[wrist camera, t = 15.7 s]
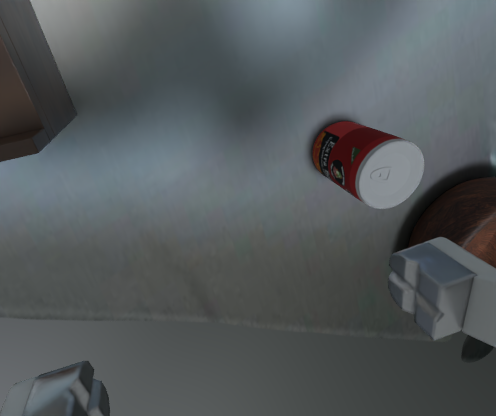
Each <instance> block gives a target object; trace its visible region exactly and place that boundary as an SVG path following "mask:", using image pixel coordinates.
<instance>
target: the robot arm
mask: <svg viewBox="0 0 496 416" xmlns="http://www.w3.org/2000/svg"><path fill="white" fill-rule="evenodd" d="M389 266H390V267H391V268H392V269H393V272H392V273H391V275H390V276H389V278H388V288H389V290H390V293H391V296H392V298H393V299H394V301H395V302H396V304H397V305H398V306H399V307H400V308H401V309H402V310H404V311H407V312H410V313H412V314H414V321H415V323H416V324H417V325H418V326H419V327H420V328H421V329H422V330H423V331H424V332H425V333H426V334H427V335H428V336H430V337H431V338H432V339H433V340H437V339H439V338H442V337H445V336H448V335H450V334H453V333H456V332H458V331H461V330H462V331H463V332H464V333H466V334H468V335H470V336H472V337H474V338H477V339H479V340H481V341H483V342H485V343H487V344H490V345H492V346H494V347H496V268H494V267H492V266H491V265H489V264H488V263H486V262H484V261H483V260H481V259H479V258H478V257H476V256H475V255H473V254H471V253H470V252H468V251H466V250H465V249H463V248H461V247H460V246H458V245H457V244H455V243H453V242H452V241H450V240H448V239H447V238H443V237H438V238H435V239H432V240H429V241H426V242H424V243H421V244H418V245H415V246H413V247H410V248H407V249H404V250H401V251H399V252H396V253H393V254H392V255H391V257H390V260H389ZM93 375H94V369H93V367H92V366H91V364H90V363H89V361H82V362H79V363H75V364H72V365H70V366H66V367H63V368H60V369H57V370H54V371H51V372H48V373H44V374H41V375H39V376H37V377H34V378H30V379H27V380H24V381H21V382H18V383H15V384H14V385H13V387H11V389H10V390H9V392H8V394H7V396H6V399H5V401H4V404H3V406H2V409H1V412H0V416H110V407H109V397H108V394H107V391H106V388H105V386H104V385H103V383H102V381H99V380H96V379H93Z"/></svg>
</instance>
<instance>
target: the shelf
mask: <svg viewBox="0 0 496 416" xmlns="http://www.w3.org/2000/svg"><path fill="white" fill-rule="evenodd" d="M76 116H77V114H76V111H75V109H74V106H73V104H72V102H71V99H70V97H69V94H68V92H67V89H66V87H65V85H64V82H63V80H62V77H61V75H60V73H59V70H58V68H57V65H56V63H55V61H54V58H53V56H52V53H51V51H50V49H49V46H48V44H47V41H46V39H45V36H44V34H43V32H42V29H41V27H40V24H39V22H38V20H37V17H36V15H35V12H34V10H33V8H32V5H31V3H30V0H0V162H2V161H6V160H10V159H15V158H19V157H23V156H28V155H32V154H36V153H39V152H40V151H41V150H42V149H43V148H44V147H45V146H46V145H47V144H48V143H49V142H50V141H51V140H52V139H53V138H55V136H56V135H57V134H58V133H59V132H60V131H61V130H62V129H64V128H65V127H66V126H67V125H68V124H69V123H70V122H71V121H72V120H73V119H74V118H75V117H76Z"/></svg>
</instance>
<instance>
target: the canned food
mask: <svg viewBox="0 0 496 416" xmlns="http://www.w3.org/2000/svg"><path fill="white" fill-rule="evenodd" d="M312 154H313V160H314V163H315V165H316V167H317V169H318V170H319V171H320V172H321V173H322V174H323V175H324V176H326V177H327V178H329V179H330V180H331V181H333V182H334V183H336V184H337V185H339V186H340V187H341V188H343V189H344V190H346V191H347V192H349V193H350V194H351V195H353V196H354V197H356V198H357V199H359V200H360V201H362V202H363V203H365V204H367V205H368V206H371V207H373V208H376V209H387V208H391V207H394V206H396V205H398V204H400V203H402V202H403V201H405V200H406V199H407V198H408V197H409V196H410V195H411V194H412V193H413V192H414V191H415V189H416V188H417V186H418V185H419V183H420V181H421V178H422V176H423V172H424V157H423V154H422V152H421V150H420V149H419V147H417V146H416V145H415V144H413V143H411V142H410V141H407V140H405V139H402V138H399V137H397V136H394V135H391V134H388V133H384V132H381V131H378V130H375V129H372V128H369V127H366V126H363V125H360V124H357V123H354V122H350V121H342V122H337V123H334V124H332V125H330V126H328V127H327V128H325V129H324V130H323V131H322V132H321V133H320V134H319V136H318V137H317V139H316V141H315V143H314V146H313V153H312Z"/></svg>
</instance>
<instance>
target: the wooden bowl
mask: <svg viewBox="0 0 496 416" xmlns="http://www.w3.org/2000/svg"><path fill="white" fill-rule="evenodd" d="M438 237H443V238H447V239H448V240H450V241H452V242H453V243H455V244H457V245H458V246H460V247H461V248H463V249H465V250H466V251H468V252H470V253H471V254H473V255H475V256H476V257H478V258H479V259H481V260H483V261H484V262H486V263H488V264H489V265H491V266H492V267H494V268H496V177H486V178H479V179H474V180H469V181H466V182H463V183H461V184H459V185H457V186H455V187H453V188H451V189H450V190H448V191H446V192H445V193H444V194H442V195H441V196H440V197H438V198H437V199H436V200H435V201H434V202H433V203H432V204H431V205H430V206H429V207H428V208H427V209H426V210H425V212H424V213H423V214H422V216H421V217H420V219H419V220H418V222H417V223H416V225H415V227H414V229H413V232H412V234H411V237H410V240H409V244H408V248H410V247H413V246H415V245H418V244H421V243H424V242H426V241H429V240H432V239H435V238H438Z"/></svg>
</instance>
